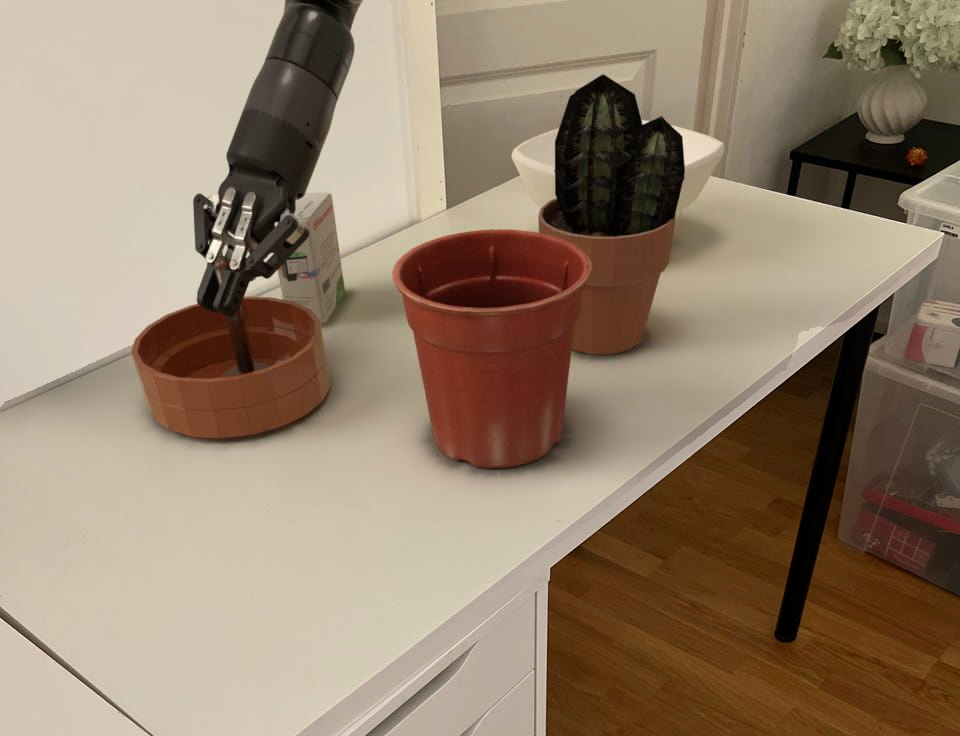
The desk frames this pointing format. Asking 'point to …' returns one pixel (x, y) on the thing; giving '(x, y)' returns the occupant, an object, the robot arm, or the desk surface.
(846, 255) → the desk surface
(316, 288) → the ink box
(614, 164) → the potted plant
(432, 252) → the flower pot
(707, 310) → the desk surface
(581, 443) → the desk surface
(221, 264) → the brown peg stand
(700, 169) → the bowl
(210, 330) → the shallow terracotta planter
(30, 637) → the desk surface
